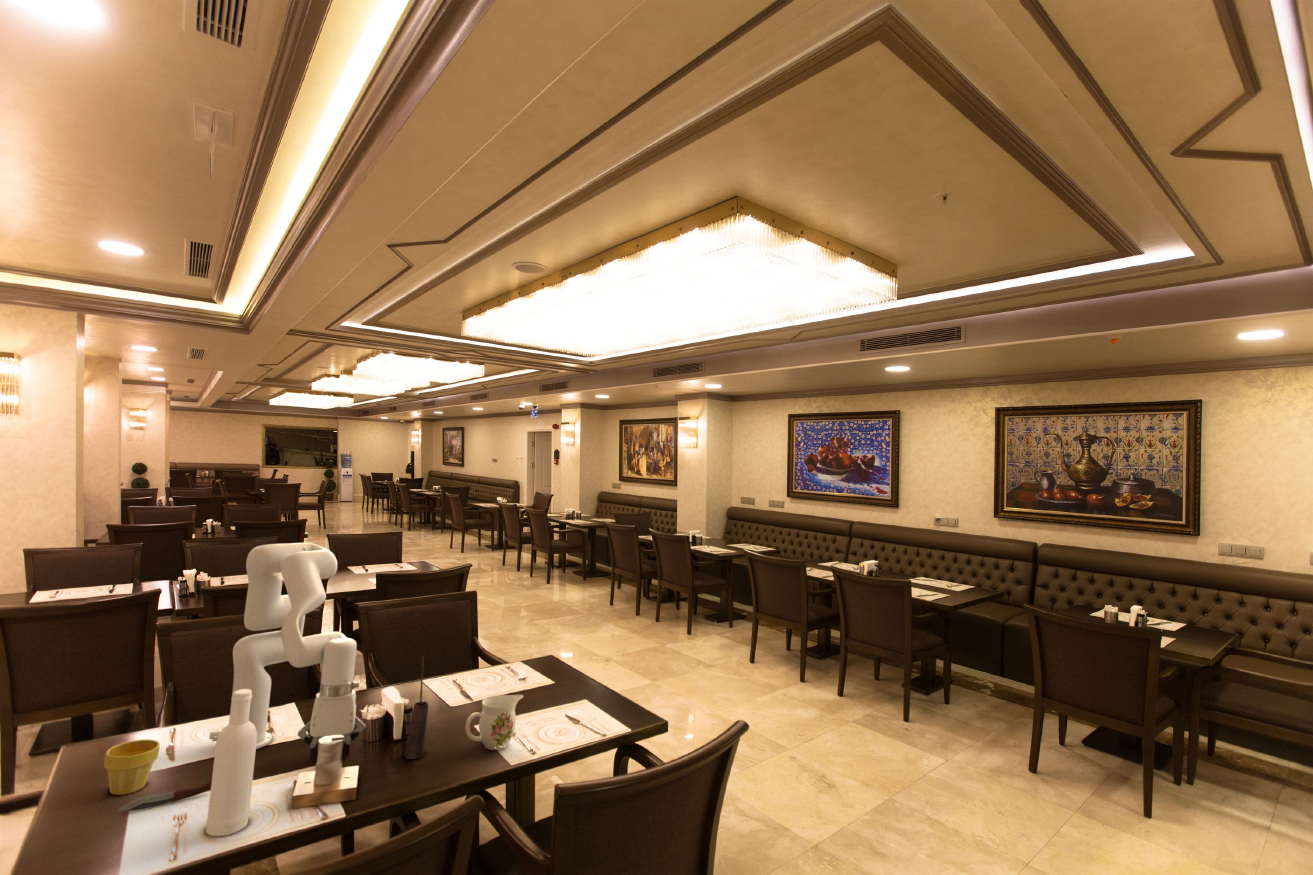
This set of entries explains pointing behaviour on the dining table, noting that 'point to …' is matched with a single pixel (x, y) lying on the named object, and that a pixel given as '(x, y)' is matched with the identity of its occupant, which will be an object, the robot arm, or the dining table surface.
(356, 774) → the stand
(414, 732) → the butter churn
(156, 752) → the flower pot
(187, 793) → the knife
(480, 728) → the pitcher
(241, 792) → the bottle
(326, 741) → the towel roll
